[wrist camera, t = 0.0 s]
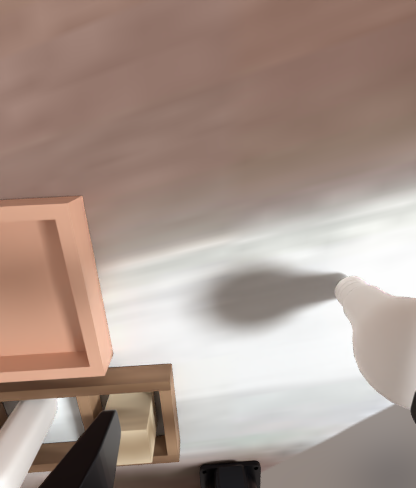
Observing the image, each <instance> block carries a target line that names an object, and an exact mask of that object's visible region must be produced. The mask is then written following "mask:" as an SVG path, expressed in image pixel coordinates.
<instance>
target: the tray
mask: <svg viewBox="0 0 416 488" xmlns="http://www.w3.org/2000/svg"><path fill="white" fill-rule="evenodd" d="M112 356H113V350H112V345H111V340H110V335H109V330H108V325H107V320H106V315H105V309H104V304H103V299H102V294H101V289H100V284H99V279H98V274H97V269H96V264H95V259H94V254H93V248H92V243H91V238H90V233H89V228H88V223H87V218H86V213H85V208H84V203H83V198H82V196H67V197H48V198H28V199H9V200H0V383H3V382H19V381H34V380H49V379H65V378H80V377H95V376H105V374H106V372H107V369H108V366H109V364H110V361H111V359H112Z"/></svg>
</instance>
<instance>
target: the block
mask: <svg viewBox="0 0 416 488" xmlns="http://www.w3.org/2000/svg"><path fill="white" fill-rule="evenodd" d="M111 409H115V410H117V413H118V417H119V422H120V427H121V439H120V446H119V452H118V459H117V465H129V464H142V463H152V460H153V452H154V445H155V437H156V429H157V422H158V420H157V413H156V406H155V399H154V393H153V392H139V393H124V394H110V395H109V398H108V401H107V404H106V407H105V410H111Z"/></svg>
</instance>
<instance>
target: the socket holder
mask: <svg viewBox="0 0 416 488" xmlns="http://www.w3.org/2000/svg"><path fill="white" fill-rule="evenodd" d="M154 391H159V394H160V402H161V409H162V417H163V424H164V431H165V435H163V436H156V437H155V445H154V452H153V460H152V463H142V464H156V463H170V462H179V456H180V435H179V426H178V417H177V408H176V399H175V390H174V381H173V372H172V364H160V365H145V366H129V367H114V368H108V369H107V372H106V374H105V376H95V377H80V378H65V379H49V380H34V381H19V382H3V383H0V429H1V428H2V426H3V425H4V423H5V422H6V420H7V419H8V416H7V414H6V411H5V408H4V406H3V403H2V402H4V401H19V400H34V399H49V398H64V397H76V399H77V403H78V407H79V410H80V414H81V418H82V421H83V425H84V429H85V430H86V429H87V428H88V427H89V426H90V424H91V423H92V422H93V421H94V420H95V418H96V417H97V416H98V415H99V413H100V412H101V411H103V408H102V404H101V399H100V395H109V394H124V393H139V392H154ZM75 443H76V442H63V443H49V444H42V445H41V447H40V449H39V451H38V453H37V455H36V457H35V459H34V461H33V463H32V465H31V467H30V469H29V471H28V473H32V472H45V471H53V469H54V468H55V467H56V466H57V465H58V463H59V462H60V461H61V460H62V458H63V457H64V456H65V455H66V454H67V452H68V451H69V450H70V449H71V447H72V446H73V445H74V444H75ZM142 464H129V465H142ZM129 465H116V466H129Z"/></svg>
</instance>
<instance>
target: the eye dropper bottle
mask: <svg viewBox="0 0 416 488" xmlns="http://www.w3.org/2000/svg"><path fill="white" fill-rule="evenodd" d="M56 413H57V398H49V399H34V400H20V401H19V402H18V404H17V405H16V407H15V408H14V410H13V411H12V413H11V414H10V416H9V417H8V419H7V420H6V422H5V423H4V425H3V426H2V428H1V429H0V488H20V487H21V485H22V483H23V481H24V479H25V477H26V475H27V473H28V471H29V469H30V467H31V465H32V463H33V461H34V459H35V457H36V455H37V453H38V451H39V449H40V447H41V445H42V443H43V441H44V439H45V437H46V435H47V433H48V431H49V429H50V427H51V425H52V423H53V421H54V419H55V416H56Z"/></svg>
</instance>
